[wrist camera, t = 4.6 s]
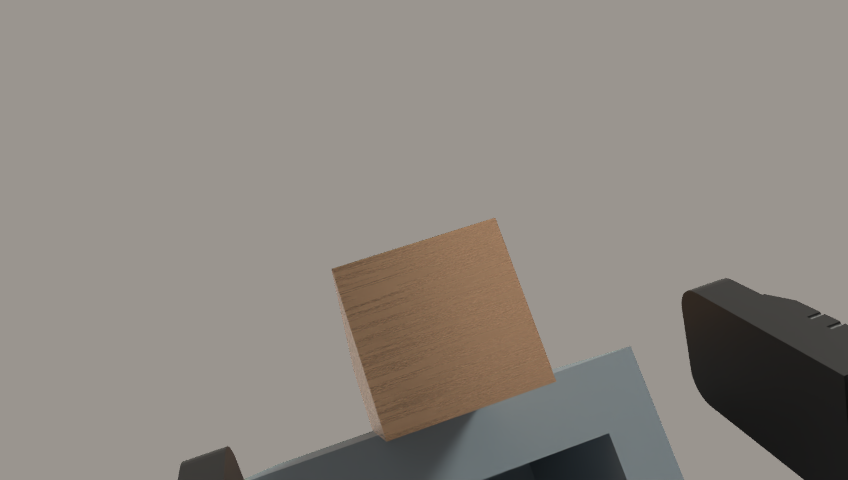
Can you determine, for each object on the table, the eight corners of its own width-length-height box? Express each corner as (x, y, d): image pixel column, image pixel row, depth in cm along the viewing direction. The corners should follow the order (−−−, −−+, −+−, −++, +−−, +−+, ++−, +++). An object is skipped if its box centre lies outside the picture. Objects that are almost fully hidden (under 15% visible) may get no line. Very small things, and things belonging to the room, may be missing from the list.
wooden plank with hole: (556, 381, 12) (494, 215, 13) (386, 441, 12) (330, 265, 12) (431, 409, 35) (411, 350, 36) (372, 430, 35) (353, 369, 36)
